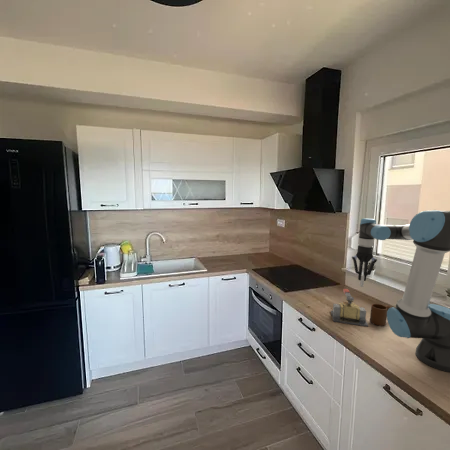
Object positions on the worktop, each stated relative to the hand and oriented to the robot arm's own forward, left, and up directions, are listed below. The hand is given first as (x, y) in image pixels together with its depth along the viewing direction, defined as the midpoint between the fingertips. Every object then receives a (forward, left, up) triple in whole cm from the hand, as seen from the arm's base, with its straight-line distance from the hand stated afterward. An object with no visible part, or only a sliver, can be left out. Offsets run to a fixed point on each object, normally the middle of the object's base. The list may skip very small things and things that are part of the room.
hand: (361, 285), depth 148 cm
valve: (-8, +7, -17) cm, 20 cm away
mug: (-6, -10, -18) cm, 21 cm away
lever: (-2, +7, -7) cm, 10 cm away
